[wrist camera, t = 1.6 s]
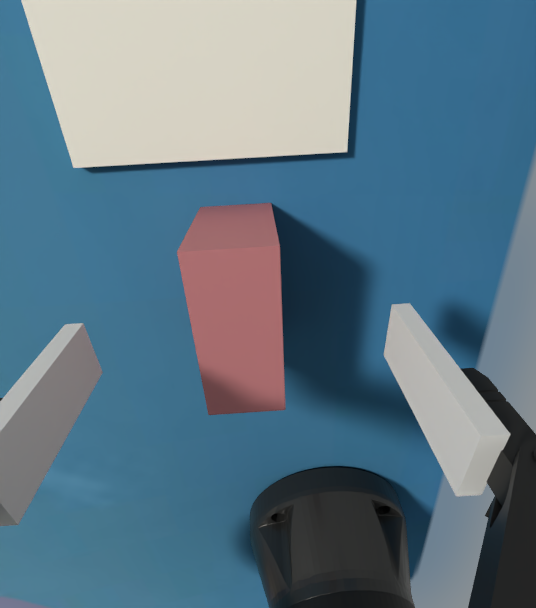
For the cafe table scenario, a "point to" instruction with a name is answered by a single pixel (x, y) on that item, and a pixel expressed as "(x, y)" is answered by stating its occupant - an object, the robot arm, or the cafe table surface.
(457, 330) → the cafe table surface
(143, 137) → the serving mat
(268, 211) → the card deck box
